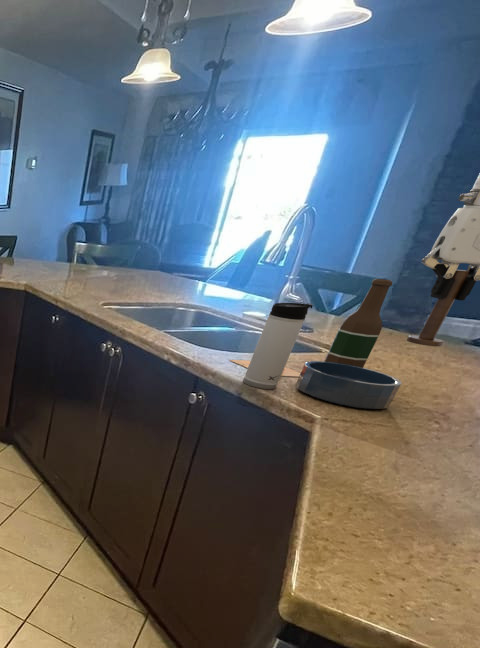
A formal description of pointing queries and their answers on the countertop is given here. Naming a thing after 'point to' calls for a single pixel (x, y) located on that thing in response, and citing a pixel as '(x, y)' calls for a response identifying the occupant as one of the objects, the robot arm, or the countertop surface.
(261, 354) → the travel mug
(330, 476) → the countertop surface
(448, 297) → the wooden post with base
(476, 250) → the robot arm
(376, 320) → the beer bottle
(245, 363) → the tan flat slab
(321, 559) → the countertop surface
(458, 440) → the countertop surface
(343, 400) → the bowl
